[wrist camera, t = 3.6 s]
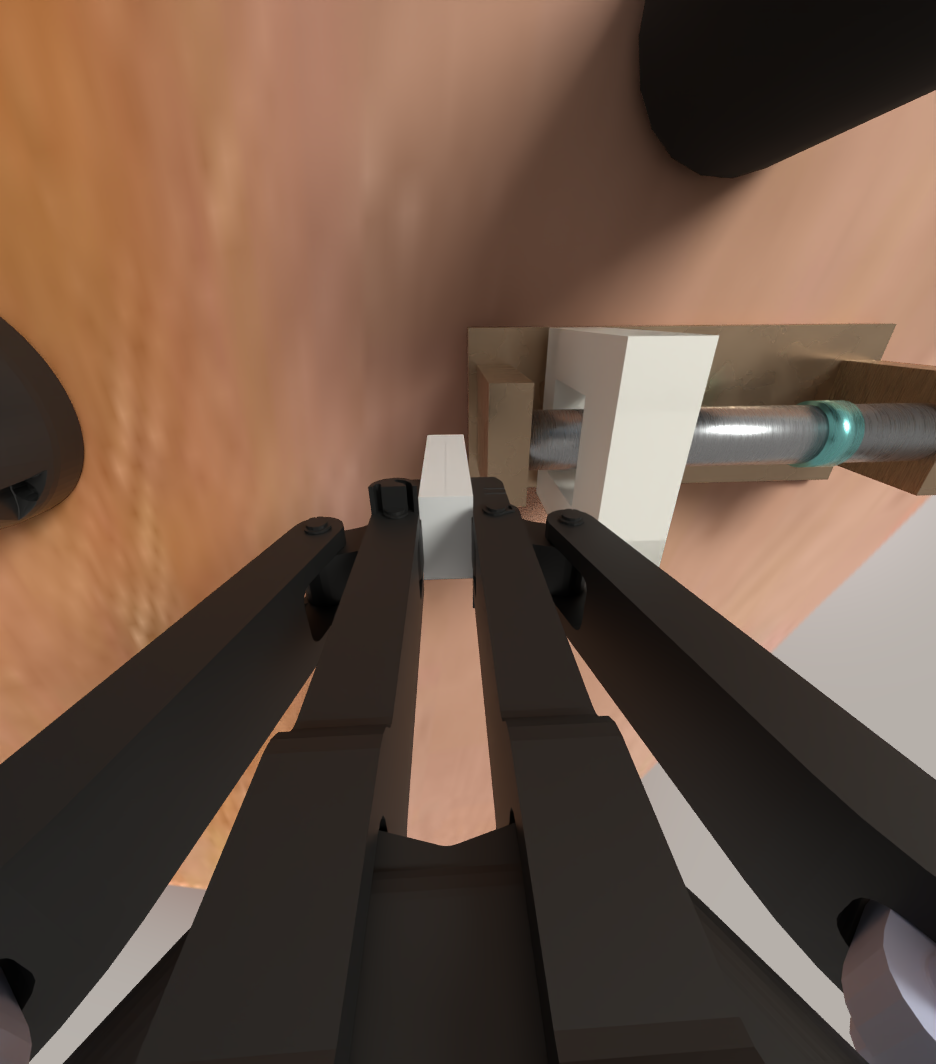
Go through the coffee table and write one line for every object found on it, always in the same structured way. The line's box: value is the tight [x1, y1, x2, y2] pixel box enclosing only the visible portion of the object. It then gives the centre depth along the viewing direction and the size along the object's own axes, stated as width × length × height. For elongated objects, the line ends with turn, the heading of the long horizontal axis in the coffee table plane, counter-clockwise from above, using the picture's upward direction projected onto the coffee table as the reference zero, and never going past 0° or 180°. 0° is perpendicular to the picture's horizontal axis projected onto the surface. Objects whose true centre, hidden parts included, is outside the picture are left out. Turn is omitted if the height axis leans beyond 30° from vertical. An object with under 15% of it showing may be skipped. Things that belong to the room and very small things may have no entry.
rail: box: [467, 324, 936, 507], centre depth 23 cm, size 26×10×9 cm, turn 90°
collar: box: [536, 327, 719, 567], centre depth 20 cm, size 3×10×11 cm, turn 0°
